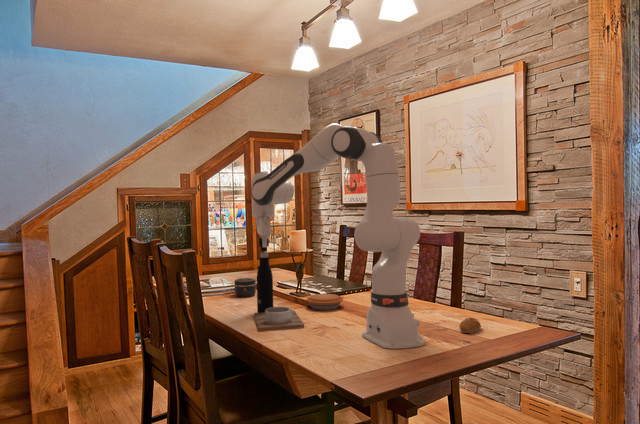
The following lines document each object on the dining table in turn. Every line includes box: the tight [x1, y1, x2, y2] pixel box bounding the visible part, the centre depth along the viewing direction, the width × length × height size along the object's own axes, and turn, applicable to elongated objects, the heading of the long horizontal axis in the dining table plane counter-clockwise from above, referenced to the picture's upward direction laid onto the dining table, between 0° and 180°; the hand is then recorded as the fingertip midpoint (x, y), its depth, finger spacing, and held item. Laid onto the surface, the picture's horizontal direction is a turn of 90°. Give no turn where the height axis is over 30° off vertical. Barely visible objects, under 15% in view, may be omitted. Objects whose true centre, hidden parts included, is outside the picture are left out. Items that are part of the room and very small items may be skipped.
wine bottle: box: [256, 237, 274, 313], centre depth 194 cm, size 6×6×30 cm
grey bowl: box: [265, 306, 293, 324], centre depth 177 cm, size 10×10×4 cm
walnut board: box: [253, 309, 305, 332], centre depth 180 cm, size 22×16×1 cm
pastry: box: [459, 317, 482, 335], centre depth 163 cm, size 9×7×4 cm
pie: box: [306, 293, 344, 311], centre depth 202 cm, size 15×16×5 cm
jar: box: [234, 277, 257, 298], centre depth 229 cm, size 10×10×8 cm
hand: (264, 246), depth 194 cm, fingers closed on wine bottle, 4 cm apart
